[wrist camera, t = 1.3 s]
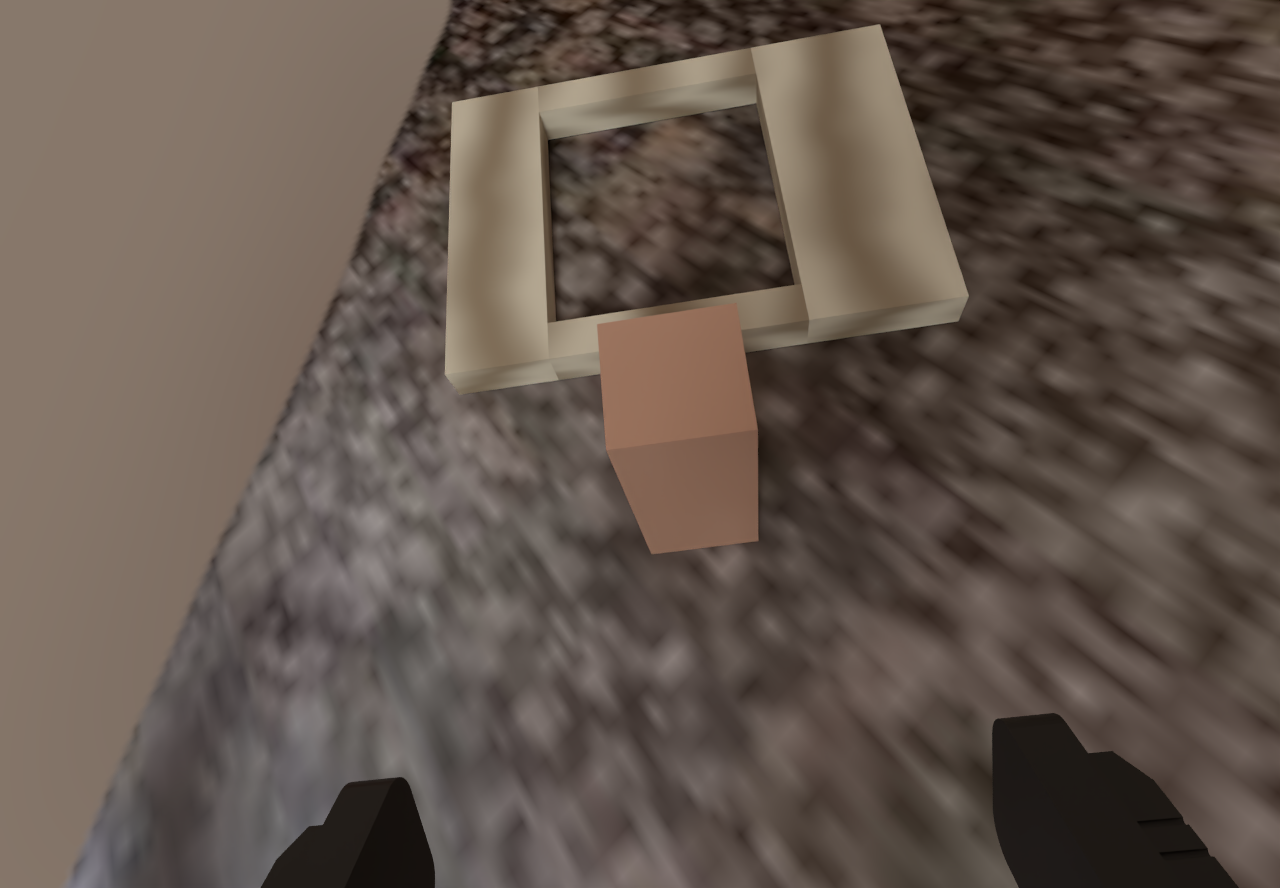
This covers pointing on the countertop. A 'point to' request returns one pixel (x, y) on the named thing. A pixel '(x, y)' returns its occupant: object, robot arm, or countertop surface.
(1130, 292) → the countertop surface
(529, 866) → the countertop surface
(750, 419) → the tall salmon pink block
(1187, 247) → the countertop surface
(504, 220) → the beige lopsided picture frame
